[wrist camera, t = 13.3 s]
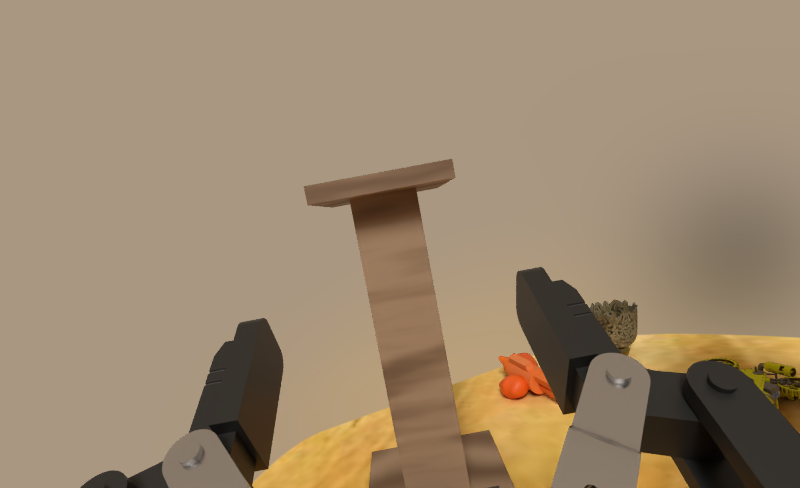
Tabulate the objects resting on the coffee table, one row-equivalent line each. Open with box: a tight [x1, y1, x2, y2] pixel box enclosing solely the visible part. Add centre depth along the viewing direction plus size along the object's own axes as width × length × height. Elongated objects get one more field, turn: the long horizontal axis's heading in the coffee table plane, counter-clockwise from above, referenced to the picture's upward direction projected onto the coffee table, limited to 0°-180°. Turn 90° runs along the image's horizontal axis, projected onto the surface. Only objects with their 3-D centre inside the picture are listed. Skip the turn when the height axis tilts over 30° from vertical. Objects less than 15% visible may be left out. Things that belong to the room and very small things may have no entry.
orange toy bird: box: [499, 353, 555, 399], centre depth 60 cm, size 5×8×12 cm
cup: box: [590, 300, 637, 355], centre depth 68 cm, size 8×7×8 cm
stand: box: [304, 159, 514, 488], centre depth 42 cm, size 14×14×32 cm
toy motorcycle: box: [705, 358, 800, 410], centre depth 50 cm, size 12×4×7 cm
